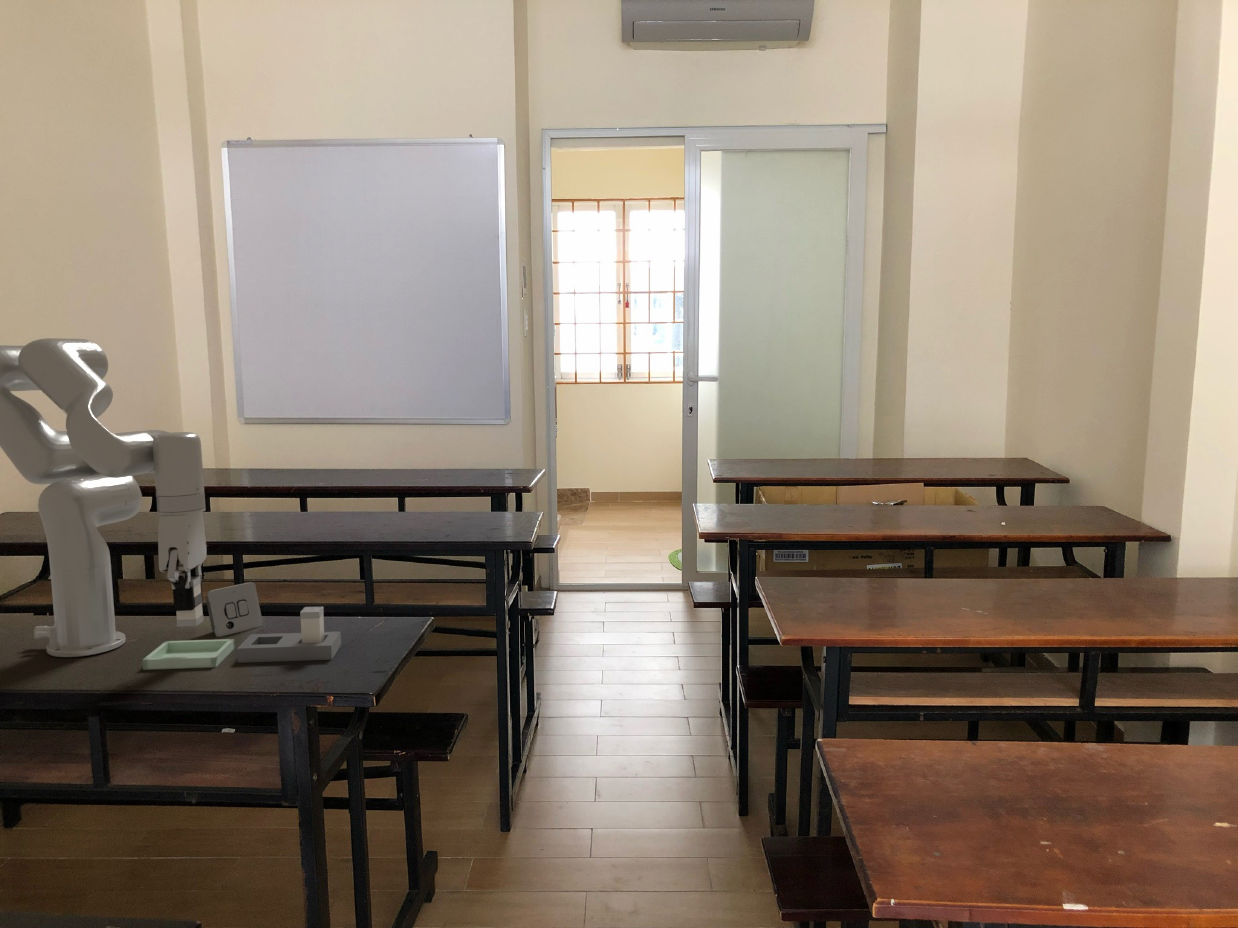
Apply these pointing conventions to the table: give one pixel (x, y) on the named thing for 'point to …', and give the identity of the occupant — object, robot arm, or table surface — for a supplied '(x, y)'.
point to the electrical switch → (234, 609)
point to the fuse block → (287, 648)
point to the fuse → (312, 624)
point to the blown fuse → (196, 614)
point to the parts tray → (189, 654)
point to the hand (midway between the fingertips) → (188, 605)
